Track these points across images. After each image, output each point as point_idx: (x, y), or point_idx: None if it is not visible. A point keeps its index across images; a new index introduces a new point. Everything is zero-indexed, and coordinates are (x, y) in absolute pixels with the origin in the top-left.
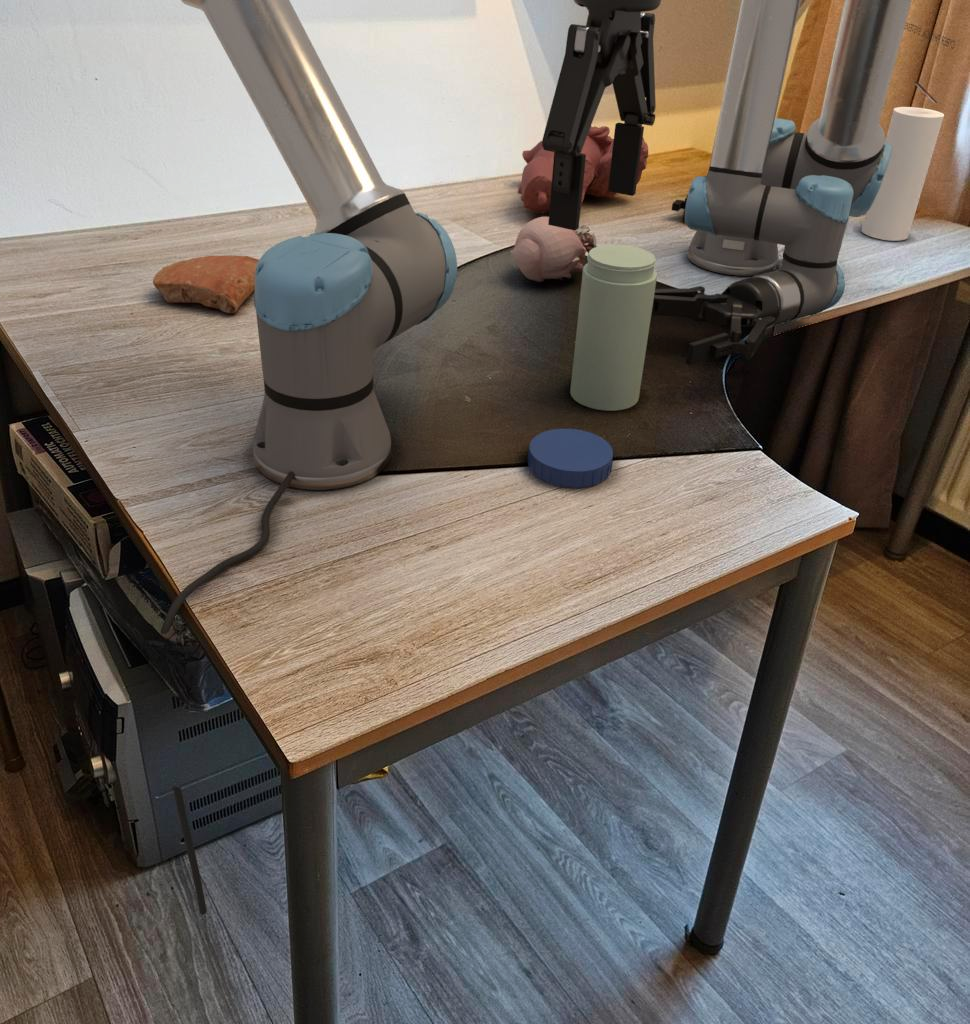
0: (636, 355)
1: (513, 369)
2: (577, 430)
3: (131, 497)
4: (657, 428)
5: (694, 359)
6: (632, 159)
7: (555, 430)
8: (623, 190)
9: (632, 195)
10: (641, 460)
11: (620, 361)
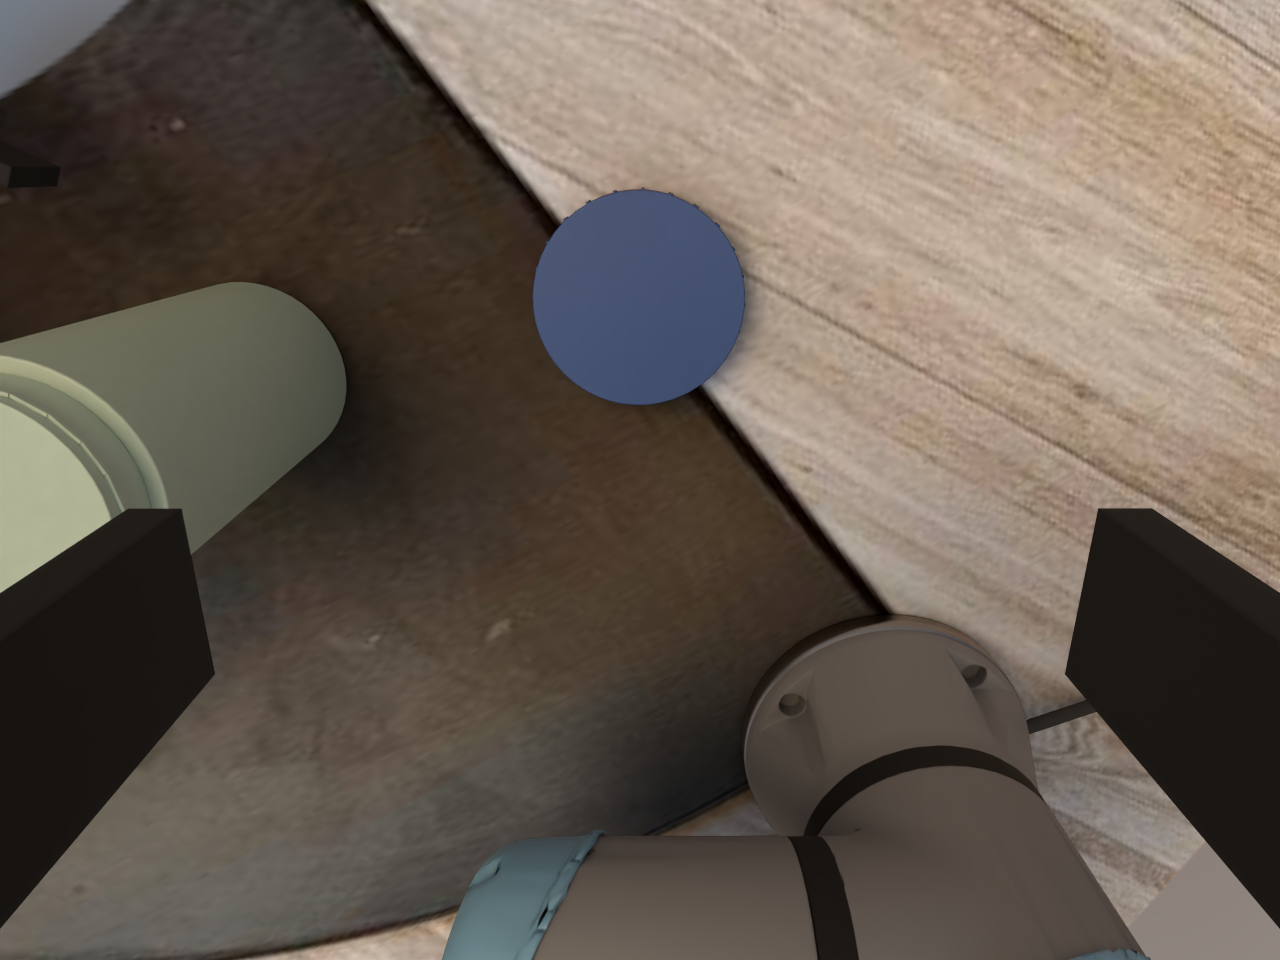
0: (199, 313)
1: (295, 617)
2: (542, 330)
3: (1148, 884)
4: (324, 175)
5: (31, 160)
6: (20, 677)
7: (577, 376)
8: (180, 586)
9: (177, 510)
10: (507, 146)
11: (257, 344)
